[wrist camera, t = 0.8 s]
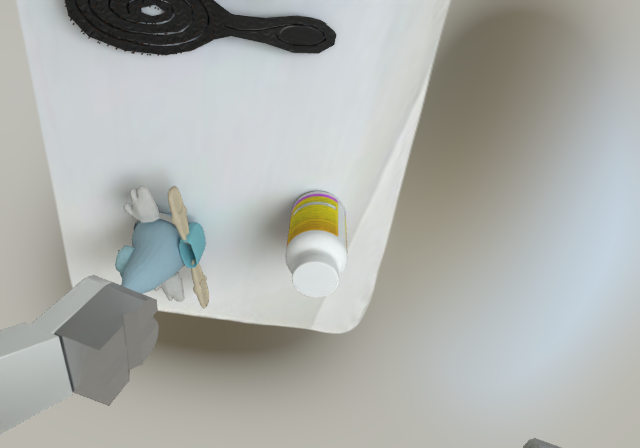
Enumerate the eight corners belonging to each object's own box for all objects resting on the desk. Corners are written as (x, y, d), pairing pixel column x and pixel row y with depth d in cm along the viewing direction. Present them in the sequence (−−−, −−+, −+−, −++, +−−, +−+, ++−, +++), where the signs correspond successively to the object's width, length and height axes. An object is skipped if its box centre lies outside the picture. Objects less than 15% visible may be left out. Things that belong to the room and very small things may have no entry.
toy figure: (107, 170, 53) (35, 243, 40) (194, 164, 52) (149, 237, 39) (148, 279, 62) (100, 367, 49) (223, 275, 61) (194, 364, 48)
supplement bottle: (282, 202, 54) (269, 268, 43) (330, 180, 52) (329, 243, 42) (308, 242, 57) (302, 312, 47) (354, 222, 56) (359, 291, 45)
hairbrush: (329, 87, 44) (66, 50, 42) (328, 77, 47) (83, 42, 45) (344, -5, 40) (50, -53, 37) (341, -10, 43) (70, -53, 40)
